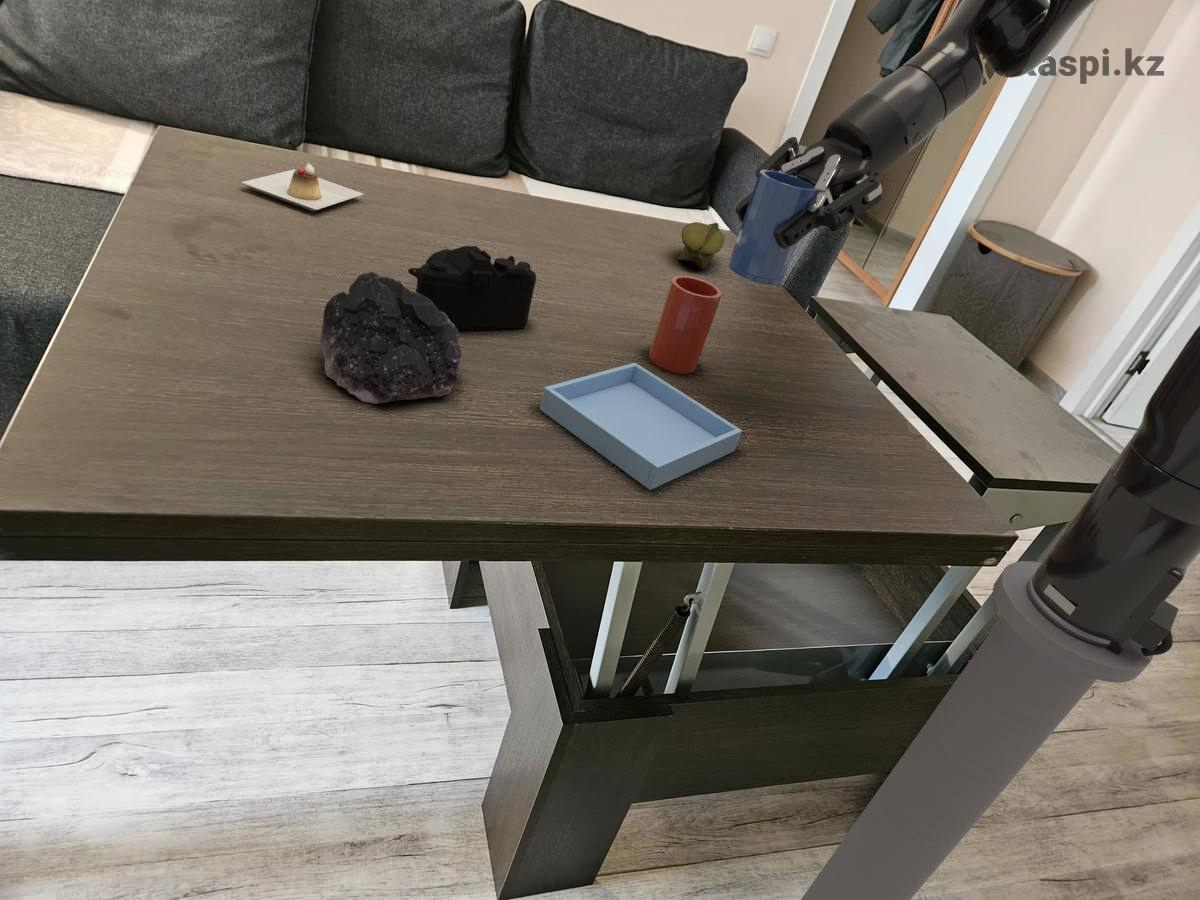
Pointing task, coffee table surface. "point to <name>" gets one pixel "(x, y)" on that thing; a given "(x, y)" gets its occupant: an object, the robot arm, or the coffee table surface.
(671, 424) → the tray
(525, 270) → the film camera
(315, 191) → the dessert
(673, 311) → the red cup
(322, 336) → the crystal cluster
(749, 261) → the blue cup
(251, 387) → the coffee table surface
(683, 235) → the fruit
